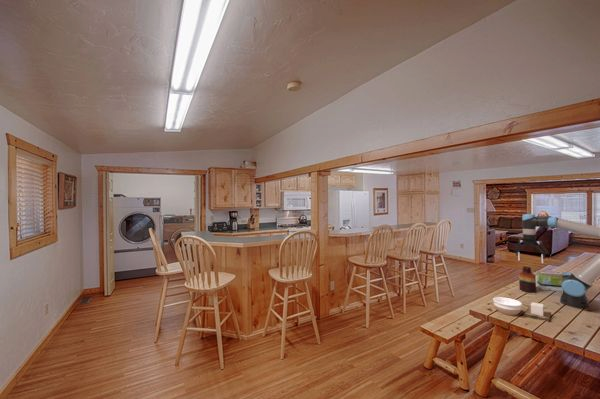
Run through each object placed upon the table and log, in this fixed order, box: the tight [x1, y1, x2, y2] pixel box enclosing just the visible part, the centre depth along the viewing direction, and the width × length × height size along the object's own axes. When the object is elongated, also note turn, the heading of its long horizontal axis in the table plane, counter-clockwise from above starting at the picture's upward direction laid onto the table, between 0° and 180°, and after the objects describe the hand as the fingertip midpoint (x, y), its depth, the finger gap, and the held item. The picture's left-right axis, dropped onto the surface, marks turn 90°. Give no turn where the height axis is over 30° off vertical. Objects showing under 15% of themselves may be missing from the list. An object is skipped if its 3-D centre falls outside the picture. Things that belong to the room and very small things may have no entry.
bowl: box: [492, 296, 523, 317], centre depth 184 cm, size 16×16×8 cm
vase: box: [518, 266, 537, 294], centre depth 224 cm, size 11×11×20 cm
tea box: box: [536, 270, 563, 293], centre depth 227 cm, size 15×10×15 cm, turn 68°
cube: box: [530, 301, 545, 316], centre depth 176 cm, size 6×6×6 cm
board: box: [524, 307, 552, 323], centre depth 177 cm, size 12×14×2 cm
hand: (530, 261), depth 201 cm, fingers open, 13 cm apart
